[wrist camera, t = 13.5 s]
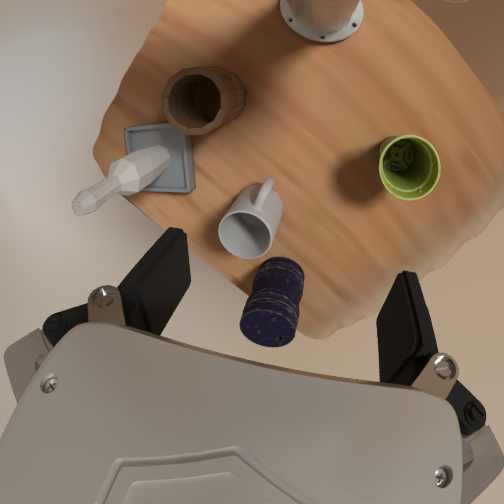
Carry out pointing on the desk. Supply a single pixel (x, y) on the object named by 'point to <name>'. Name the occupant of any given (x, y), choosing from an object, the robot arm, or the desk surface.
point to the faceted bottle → (124, 178)
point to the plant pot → (408, 166)
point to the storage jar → (274, 303)
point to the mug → (252, 221)
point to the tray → (180, 150)
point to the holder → (183, 104)
